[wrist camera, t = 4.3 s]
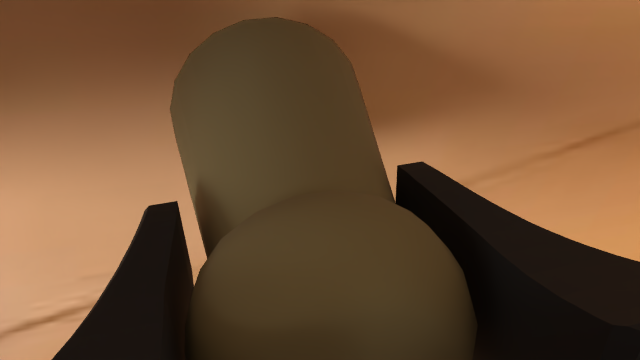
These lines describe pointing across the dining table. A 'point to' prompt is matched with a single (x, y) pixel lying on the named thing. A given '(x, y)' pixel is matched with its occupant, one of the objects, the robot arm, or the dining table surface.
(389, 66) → the dining table surface
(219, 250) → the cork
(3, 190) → the dining table surface
